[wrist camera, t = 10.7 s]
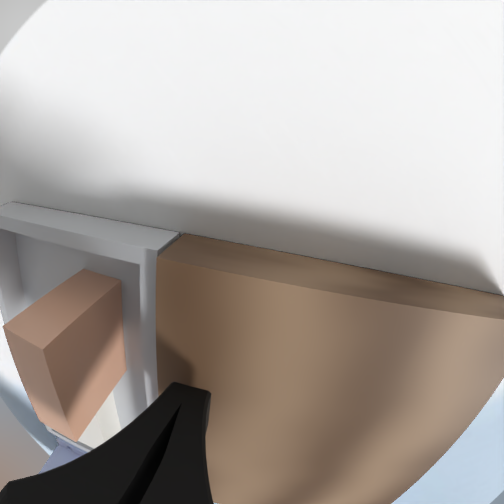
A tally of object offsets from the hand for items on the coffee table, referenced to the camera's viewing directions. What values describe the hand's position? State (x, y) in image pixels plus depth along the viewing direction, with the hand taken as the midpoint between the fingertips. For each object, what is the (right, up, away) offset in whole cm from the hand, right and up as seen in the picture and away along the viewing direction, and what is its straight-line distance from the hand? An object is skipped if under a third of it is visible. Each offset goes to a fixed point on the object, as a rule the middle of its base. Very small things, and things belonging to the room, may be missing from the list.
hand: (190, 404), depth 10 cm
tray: (-6, -1, +5) cm, 8 cm away
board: (+5, -3, +4) cm, 7 cm away
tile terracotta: (-4, +1, +1) cm, 4 cm away
